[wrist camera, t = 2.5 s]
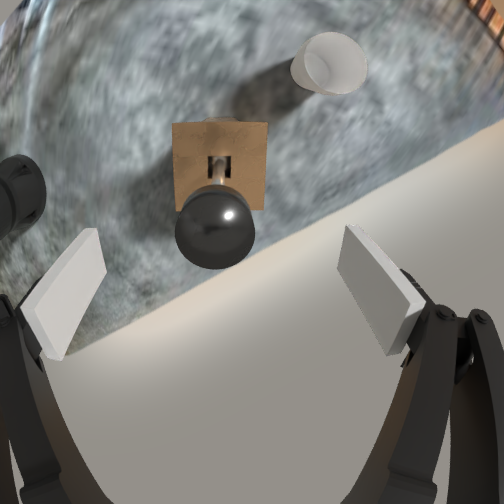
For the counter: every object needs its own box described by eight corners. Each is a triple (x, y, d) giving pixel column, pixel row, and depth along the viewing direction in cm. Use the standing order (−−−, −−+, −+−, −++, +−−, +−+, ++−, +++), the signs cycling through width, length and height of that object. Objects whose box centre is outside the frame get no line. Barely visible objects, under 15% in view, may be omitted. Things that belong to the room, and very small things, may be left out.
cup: (318, 106, 41) (347, 108, 31) (272, 76, 38) (288, 67, 28) (344, 67, 38) (379, 60, 27) (301, 37, 35) (325, 18, 24)
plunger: (189, 192, 34) (156, 291, 17) (187, 132, 31) (140, 169, 13) (250, 191, 35) (278, 289, 18) (252, 132, 32) (289, 167, 14)
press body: (190, 194, 47) (177, 232, 34) (188, 118, 40) (171, 123, 27) (251, 193, 48) (262, 230, 35) (254, 117, 41) (267, 122, 28)
